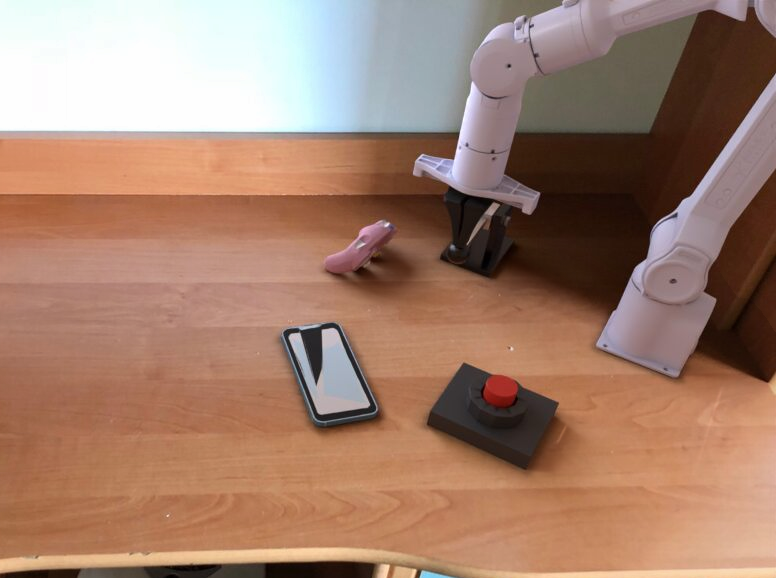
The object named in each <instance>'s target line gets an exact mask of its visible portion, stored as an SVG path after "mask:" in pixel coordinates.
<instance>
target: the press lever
mask: <svg viewBox="0 0 776 578" xmlns="http://www.w3.org/2000/svg"><path fill="white" fill-rule="evenodd" d="M500 207H501V204H499V203H496V202H494V203H493V204H492V205H491V206H490V207H489V209H488V210H487V211H486V212H485V213H484V214H483V216H482V217H481V219H480V220H479V222H478V223H477V225H476V227H475V228H474V230H473V232H472V234H471V237H470V239H469V242H468V243H467V244H466V245H465V247H464V248H459V247H456V246H454V245H452V243H451V242H450V243H451V244H450V243H449V244H450V245H449V244H448V245H449V247H448V249H447V257H448V259H449V260H450V261H451V262H452V263H455V264H461V263H464V262H465V261H466V260H467V259H468V258H469V255H470V249H469V246H470V245H471V244H472V242H473V241H474V240H475V238H476V237H477V236H478V234H479V233H480V232H481V230H482V229H485V230H488V231H490V230H491V226H492V222H493V219H494V215H495V214H496V212H497V211H498V210H499V209H500Z"/></svg>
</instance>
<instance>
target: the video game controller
mask: <svg viewBox="0 0 776 578" xmlns="http://www.w3.org/2000/svg"><path fill="white" fill-rule="evenodd" d="M397 232H398V229H397V227H395V226H394V225H393V224H392V223H391V222H389V221H386V220H385V219H381V220H379V221H377V222H375V223H374V224H371V225H367V226H364V227H363V228H361V229H360V230H359V232H358V237H357V238H356V239H354V240H353V241H352V242H351V243H350V244H349V246H347V247H346V248H345V249H344V250H342V251H339V252H337V253H333V254H329V255H327V257H325V259H324V260H323V261H324V262H323V266H324V269H325V270H326V271H328V272H329V273H332V274H345V273H349V272H350V271H354V272H356V271H357V270H358V269H360V268H361V267H362V266H363V268H366V267H368V266H369V265H370V264H371V259H372V258H376V257H378V256H379V251H380V250H381V249H382V248H383V247H384V246H385V245H387V244H389V243H390V241H392V239H393V238H394V236H395V235H396V234H397Z"/></svg>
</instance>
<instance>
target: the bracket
mask: <svg viewBox="0 0 776 578" xmlns="http://www.w3.org/2000/svg"><path fill="white" fill-rule="evenodd" d="M513 207H514V206H512V205H509V204H506V203H502V205H500V208H499V210H498V211H497V212H496V214H495V215H494V219H493V222H492V226H491V228H490V229H489V231H488V230H485V229H482V230H481V232H480V233H479V234H478V236H477V237H476V238H475V240H474V241H473V242H472V244H471V245H470V246H469V249H470V255H469V258H468V259H467V260H466V261H465V262H464V263H461V264H455V263H452V262H451V261H450V260H449V259H448V257H447V249H448V247H449V245H450V244H451V243H452V241H450V243H449V244H448V245H447V246H446V248H444V250H443V251H442V252H441V254H440V256H439V260H440V261H442V262H445V263H448V264H450V265H454V266H456V267H458V268H461V269H464V270H467V271H468V272H471V273H475V274H477V275H480V276H483V277H485V278H488V279H489V278H491V276H492V274H493V273H494V272H495V271H496V269H497V268H498V266H499V265H500V263H502V261H503V260H504V259H505V257H506V255H507V254H508V253H509V251H510V250H511V249H512V248H513V246H514V243H515V239H514V238H510V237H509V236H506V233H507V228H508V227H509V225H510V222H511V219H512V217H511V215H512V210H513Z"/></svg>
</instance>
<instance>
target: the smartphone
mask: <svg viewBox="0 0 776 578" xmlns="http://www.w3.org/2000/svg"><path fill="white" fill-rule="evenodd" d="M280 338H281V341H282V344H283V347H284V350H285V352H286V354H287V358H288V361H289V363H290V366H291V368H292V371H293V373H294V376H295V379H296V381H297V384H298V387H299V389H300V392H301V395H302V398H303V400H304V402H305V405H306V409H307V411H308V414H309V416H310V419H311V422H312V423H313V424H314V425H315V426H317V427H320V428H324V427H330V426H336V425H341V424H347V423H354V422H359V421H360V422H361V421H365V420H370V419H374V418H375V417H377V415H378V412H379V406H378V404H377V401H376V399H375V398H374V395H373V393H372V390H371V389H370V386H369V384H368V382H367V379H366V377H365V375H364V373H363V370H362V368H361V367H360V364H359V362H358V360H357V357H356V355H355V353H354V351H353V348H352V346H351V344H350V342H349V340H348V338H347V336H346V333H345V332H344V330H343V327H342V325H341V324H340V323H338V322H336V321H327V322H325V321H324V322H319V323H313V324H305V325H304V324H303V325H297V326H291V327H286V328H284V329H282V331H281V335H280Z"/></svg>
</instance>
